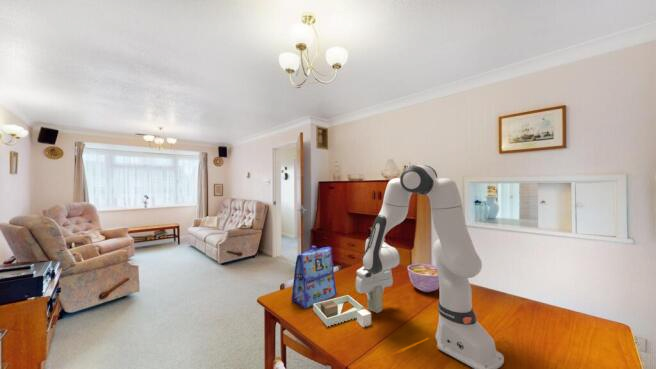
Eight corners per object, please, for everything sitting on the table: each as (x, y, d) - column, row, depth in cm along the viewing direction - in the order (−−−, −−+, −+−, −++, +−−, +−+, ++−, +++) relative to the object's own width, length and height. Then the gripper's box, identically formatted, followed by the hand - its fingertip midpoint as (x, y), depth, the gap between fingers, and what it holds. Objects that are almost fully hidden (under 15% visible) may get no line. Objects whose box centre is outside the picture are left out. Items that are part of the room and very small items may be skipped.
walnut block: (337, 316, 112) (337, 305, 112) (326, 319, 109) (326, 308, 109) (331, 310, 117) (331, 299, 117) (320, 313, 115) (320, 302, 115)
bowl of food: (401, 288, 142) (400, 269, 142) (417, 279, 155) (417, 261, 155) (435, 300, 127) (434, 278, 127) (450, 289, 141) (450, 269, 141)
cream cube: (371, 324, 106) (371, 313, 106) (362, 327, 104) (362, 316, 104) (365, 319, 110) (365, 308, 110) (356, 322, 108) (356, 311, 108)
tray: (364, 315, 114) (364, 307, 114) (326, 327, 105) (326, 318, 105) (348, 301, 127) (348, 294, 127) (313, 311, 118) (313, 303, 118)
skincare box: (382, 310, 118) (382, 285, 118) (377, 313, 115) (377, 287, 115) (372, 305, 123) (372, 281, 123) (366, 308, 120) (366, 283, 120)
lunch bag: (305, 310, 119) (305, 251, 119) (290, 300, 129) (290, 246, 129) (337, 296, 133) (337, 244, 133) (322, 288, 144) (321, 240, 144)
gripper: (387, 264, 126) (387, 290, 126) (353, 271, 117) (354, 299, 117) (395, 268, 120) (395, 295, 120) (360, 275, 111) (361, 305, 111)
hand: (375, 297), depth 119 cm, fingers closed on skincare box, 5 cm apart
